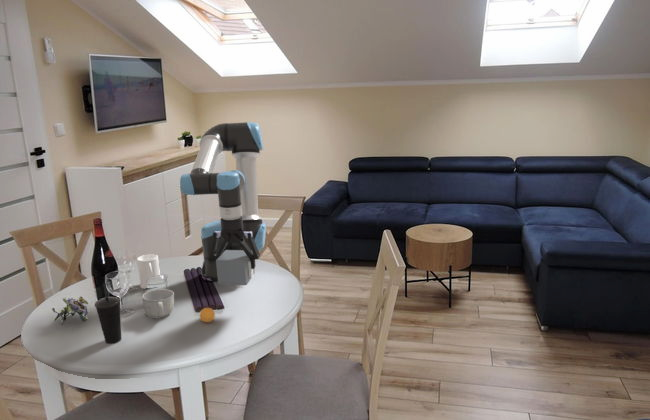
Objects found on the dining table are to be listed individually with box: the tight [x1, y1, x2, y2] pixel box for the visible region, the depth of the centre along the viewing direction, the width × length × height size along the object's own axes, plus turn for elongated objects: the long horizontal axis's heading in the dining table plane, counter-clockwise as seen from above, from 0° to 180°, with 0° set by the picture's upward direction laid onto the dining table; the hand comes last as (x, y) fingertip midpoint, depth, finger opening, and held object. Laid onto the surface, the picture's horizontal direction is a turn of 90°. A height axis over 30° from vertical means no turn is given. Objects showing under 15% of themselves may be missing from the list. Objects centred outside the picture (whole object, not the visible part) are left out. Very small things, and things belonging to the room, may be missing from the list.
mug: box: [136, 253, 161, 290], centre depth 207 cm, size 12×8×12 cm
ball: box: [199, 307, 216, 323], centre depth 176 cm, size 5×5×5 cm
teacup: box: [141, 288, 175, 319], centre depth 181 cm, size 14×11×8 cm
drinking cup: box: [94, 282, 122, 345], centre depth 164 cm, size 8×8×20 cm
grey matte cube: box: [216, 250, 256, 286], centre depth 180 cm, size 10×10×9 cm
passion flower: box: [51, 295, 89, 326], centre depth 179 cm, size 11×11×12 cm
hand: (236, 276), depth 181 cm, fingers closed on grey matte cube, 10 cm apart
